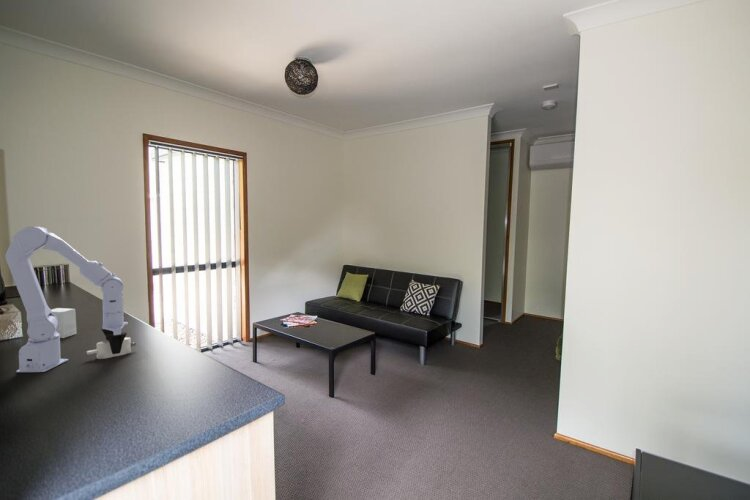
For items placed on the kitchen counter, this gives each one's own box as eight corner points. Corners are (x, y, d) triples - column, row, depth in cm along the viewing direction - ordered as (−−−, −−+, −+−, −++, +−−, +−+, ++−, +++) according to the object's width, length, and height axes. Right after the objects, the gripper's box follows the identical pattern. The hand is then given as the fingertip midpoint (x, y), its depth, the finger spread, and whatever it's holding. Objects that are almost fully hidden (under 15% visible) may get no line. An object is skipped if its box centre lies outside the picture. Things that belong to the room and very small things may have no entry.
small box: (77, 334, 141) (76, 308, 140) (63, 338, 135) (62, 311, 135) (59, 333, 142) (58, 307, 141) (44, 337, 136) (43, 310, 135)
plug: (134, 349, 126) (134, 335, 126) (136, 352, 124) (136, 338, 123) (86, 358, 117) (86, 344, 116) (88, 361, 114) (87, 346, 114)
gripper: (131, 314, 117) (132, 353, 118) (123, 306, 128) (124, 342, 128) (105, 317, 112) (106, 358, 113) (98, 309, 123) (100, 346, 124)
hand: (114, 350), depth 121 cm, fingers open, 7 cm apart
